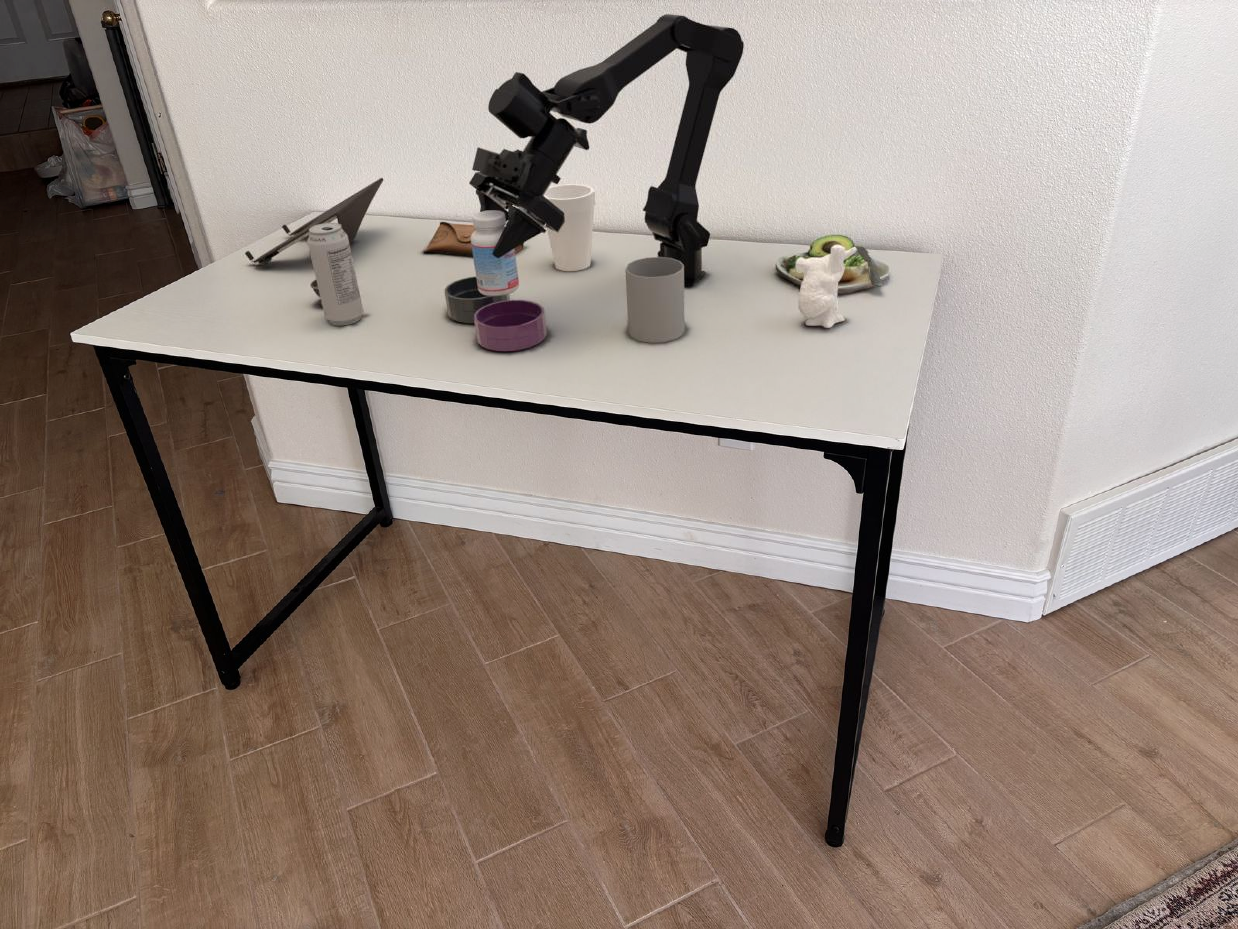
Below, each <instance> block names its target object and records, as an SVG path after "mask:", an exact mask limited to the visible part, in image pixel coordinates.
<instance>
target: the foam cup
mask: <svg viewBox="0 0 1238 929" xmlns="http://www.w3.org/2000/svg"><path fill="white" fill-rule="evenodd" d="M543 196H544V197H545V198H547V199H548V200H549V201H550V202H552V203H553V204H554V205H555V206H557V207H558V208H559V209H560V210H561V211H563V212H564V217H565V223H564V224H563V226H562V227H561V229H560V230H559V232H558V233H557V232H555V231H553V230H550V229H548V228H547V227H546V230H547V231H546V232H547V235H548V240H549V244H550V249H551V253H552V258H553V262H554V267H555V268H556V269H557V270H559V271H564V272H578V271H583V270H585V269H587V268H589V267H590V266H591V262H592V250H593V248H592V246H593V234H594V232H593V231H594V215H595V206H596V192H595V189H594V187H593V186H590V185H587V184H579V183H567V184H556V185H552V186H549V187H548V189H547V191H546V192H545V194H544V195H543Z"/></svg>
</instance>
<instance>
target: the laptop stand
mask: <svg viewBox="0 0 1238 929" xmlns="http://www.w3.org/2000/svg"><path fill="white" fill-rule="evenodd" d="M383 182H384V178H383V177H380V178H378V179H377V180H375V181H374V182H372V183H370V184H368V185H366V186H365V187H363V188H362V189H360V190H358V191H357V192H355V193H353V194H352V195H350V196H348V197H346V198H345V199H344V200H342V201H340V202H338V203H337V204H336V205H334V206H332V207H330V208H329V209H327V210H325V211H324V212H322V213H321V214H319V215H317V216H316V217H314V218H312V219H311V220H309V221H307V222H306V223H304V224H302V225H301V226H300V227H298V228H297V229H295V230H294V231H291V230H290V228H289V227H288V225H287V224H283V225H282V226H281V228H282V229H283V231H284V232H285V233H286V235H287V236H288V237H289V238H288V239H287V240H285V241H283V242H281V243H280V244H279V245H276V246H275V247H273V248H271V249H270V250H268V251H266V252H265V253H263V254H261V255H260V256H259V257H257V258H256V259H255V257H254V255H253V254H252V253H251V252H250V250H247V251H245V253H244V255H245V256H246V257H247V259H248V260H249V261H250V262H251V264H253V265H255V266H259V265H261V266H265V265H266V264H268V263H269V262H271V261H273V258H274V257H276V256H277V255H279V254H280V253H282V252H283V251H285V250H287V249H288V248H290V247H291V246H293V245H295V244H296V243H298V242H300V241H302V240H303V239H305V238H306V237H307V238H308V237H309V234H310V232H309V229H310V228H311V227H313V226H315V225H318V224H323V223H333V222H334V221H335V220H336V219H337V223H338V224H341V226H342V229H343V231H344V232H345V233H346V234H347V235H348V240H349V245H350V246H351V245H353V243H354V241H355V239H356V237H357V234H358V232H359V230H360V227H361V225H362V223H363V220H364V218H365V215H366V214H367V212H368V209H369V208H370V206H371V204H372V201H373V200H374V198H375V196H376V195H377V193H378V190H379V189H380V187H381V185H382V184H383Z"/></svg>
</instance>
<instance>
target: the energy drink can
mask: <svg viewBox="0 0 1238 929" xmlns="http://www.w3.org/2000/svg"><path fill="white" fill-rule="evenodd" d="M309 232H310V234H309V235H308V236H307V246H308V250H309V254H310V259H311V263H312V267H313V272H314V276H315V280H317V285H318V289H319V293H320V297H321V298H320V297H319V298H320V299H321V302H322V306H323V308H322V310H323V315H324V318H325V320H327V321H329V323H330V324H331V325H333V326H348V325H352V324H355V323H357V322H359V321H360V320H361V319H362V315H363V314H364V307H363V303H362V298H361V293H360V288H359V284H358V279H357V273H356V270H355V265H354V264H355V263H354V260H353V255H352V250H351V245H349V240H348V235H347V234H346V233H345V232H344V231H343V229H342V226H341V224H338V222H330V223H323V224H318V225H315V226H313V227H311V228H310V229H309Z"/></svg>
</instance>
